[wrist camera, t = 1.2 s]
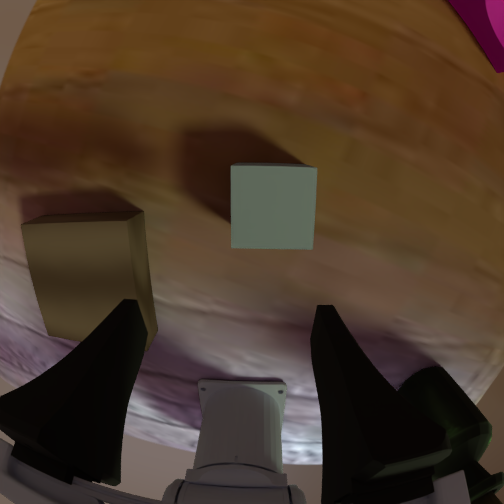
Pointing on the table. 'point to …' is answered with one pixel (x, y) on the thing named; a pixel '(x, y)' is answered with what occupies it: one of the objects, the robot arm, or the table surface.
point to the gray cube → (273, 205)
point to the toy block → (485, 26)
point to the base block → (88, 269)
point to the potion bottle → (456, 430)
